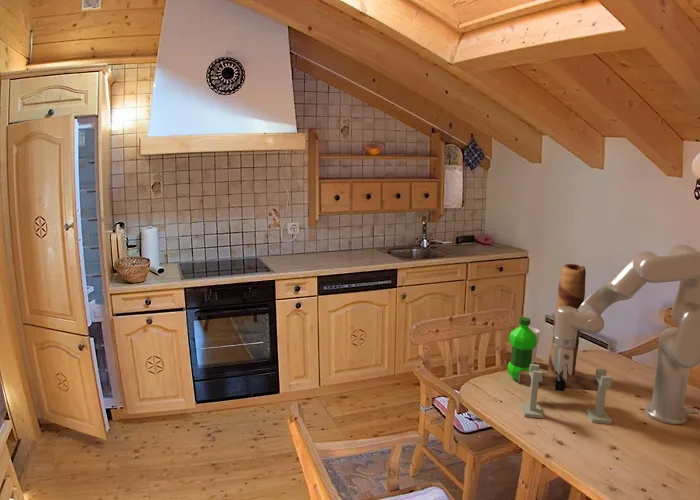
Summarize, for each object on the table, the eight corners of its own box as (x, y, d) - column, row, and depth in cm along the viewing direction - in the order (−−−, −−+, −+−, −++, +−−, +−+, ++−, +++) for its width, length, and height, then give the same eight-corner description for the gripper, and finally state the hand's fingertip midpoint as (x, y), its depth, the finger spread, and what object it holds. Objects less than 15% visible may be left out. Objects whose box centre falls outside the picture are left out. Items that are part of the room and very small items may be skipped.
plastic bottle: (537, 384, 202) (543, 323, 196) (510, 384, 202) (515, 323, 196) (528, 372, 212) (533, 314, 206) (502, 372, 211) (507, 314, 206)
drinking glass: (537, 367, 216) (540, 333, 213) (520, 365, 218) (523, 332, 214) (535, 360, 223) (538, 327, 219) (518, 359, 224) (521, 326, 221)
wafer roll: (577, 371, 213) (590, 265, 204) (573, 381, 205) (585, 271, 195) (551, 365, 219) (562, 261, 209) (545, 374, 210) (556, 267, 200)
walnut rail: (597, 387, 188) (599, 377, 187) (600, 391, 185) (602, 381, 184) (518, 380, 192) (519, 370, 191) (519, 384, 189) (520, 374, 188)
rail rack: (604, 413, 181) (609, 369, 178) (610, 424, 175) (617, 378, 171) (521, 406, 185) (525, 363, 182) (524, 416, 179) (528, 372, 175)
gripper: (581, 351, 176) (575, 400, 180) (569, 333, 192) (563, 378, 196) (558, 349, 177) (552, 398, 181) (548, 331, 193) (542, 377, 197)
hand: (558, 387), depth 189 cm, fingers closed on walnut rail, 3 cm apart
